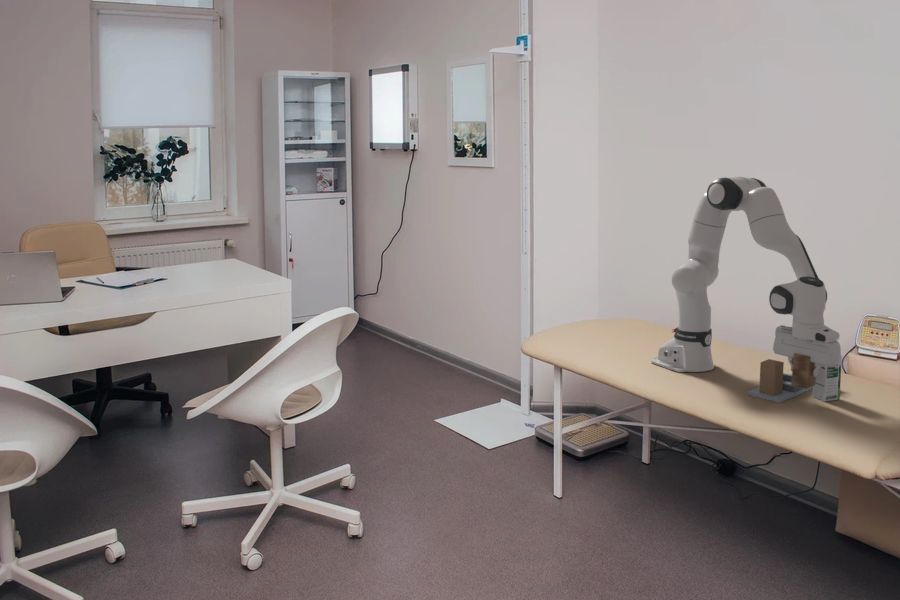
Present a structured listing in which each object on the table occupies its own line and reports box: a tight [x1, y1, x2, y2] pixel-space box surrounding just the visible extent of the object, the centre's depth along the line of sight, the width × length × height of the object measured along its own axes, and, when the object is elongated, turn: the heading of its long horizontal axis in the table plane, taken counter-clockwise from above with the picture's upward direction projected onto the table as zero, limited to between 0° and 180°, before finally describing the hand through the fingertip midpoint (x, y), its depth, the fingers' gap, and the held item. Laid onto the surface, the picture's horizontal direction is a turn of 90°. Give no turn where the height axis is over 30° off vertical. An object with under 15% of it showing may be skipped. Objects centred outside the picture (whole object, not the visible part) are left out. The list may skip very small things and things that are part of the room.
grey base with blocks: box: [747, 358, 813, 404], centre depth 270 cm, size 11×28×11 cm, turn 129°
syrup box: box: [812, 355, 843, 403], centre depth 259 cm, size 6×6×14 cm
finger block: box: [791, 354, 816, 389], centre depth 256 cm, size 5×5×10 cm
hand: (804, 373), depth 256 cm, fingers closed on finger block, 5 cm apart
